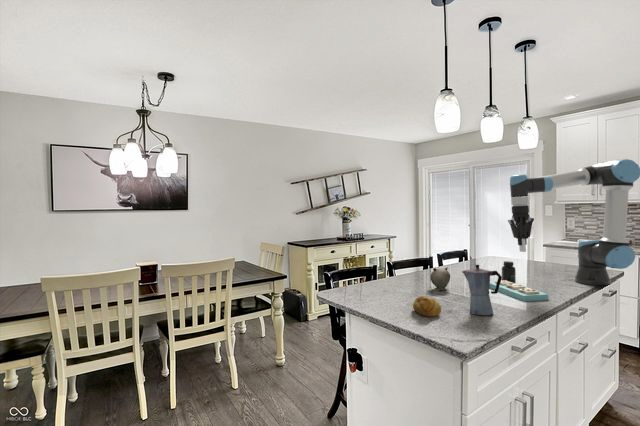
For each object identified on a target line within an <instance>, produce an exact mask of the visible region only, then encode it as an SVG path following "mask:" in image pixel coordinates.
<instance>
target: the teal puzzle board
mask: <svg viewBox="0 0 640 426" xmlns="http://www.w3.org/2000/svg"><path fill="white" fill-rule="evenodd" d="M509 282H510V281H509ZM512 283H513V282H512ZM513 284H517V282H516V283H513ZM527 288H530V287H527V286H525V289H527ZM490 289H493V290H494V291H495V289H496V283H495V281H490ZM530 289H533V288H530ZM533 290H536V291H539V294H529V295H526V294H523V293H521V292H518V290H512V289H510V288H507V287H506V286H501V285H499V289H498V292H499V293H502V294H504V295H507V296H510V297H512V298H514V299H517V300H519V301H523V302H534V301H536V302H537V301H549V294H548V293H545V292H542V291H540V290H537V289H533Z"/></svg>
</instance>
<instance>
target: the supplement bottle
mask: <svg viewBox="0 0 640 426" xmlns="http://www.w3.org/2000/svg"><path fill="white" fill-rule="evenodd" d="M516 275H517V274H516V267H515V266H514V262H513V261H510V260H509V261H508V260H507V261H503V265H502V266H501V276H502V280H501V281H505V280H506V281H510V282H513V283H516V284H517V280H516V279H517V278H516Z"/></svg>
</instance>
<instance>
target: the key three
mask: <svg viewBox="0 0 640 426" xmlns="http://www.w3.org/2000/svg"><path fill="white" fill-rule="evenodd" d="M536 290H537V289H534V290H533V288H531V289H530V287H528V288H527V289H518V292H521V293H523V294H526V295H529V294H539V291H540V290H537V291H536Z"/></svg>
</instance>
